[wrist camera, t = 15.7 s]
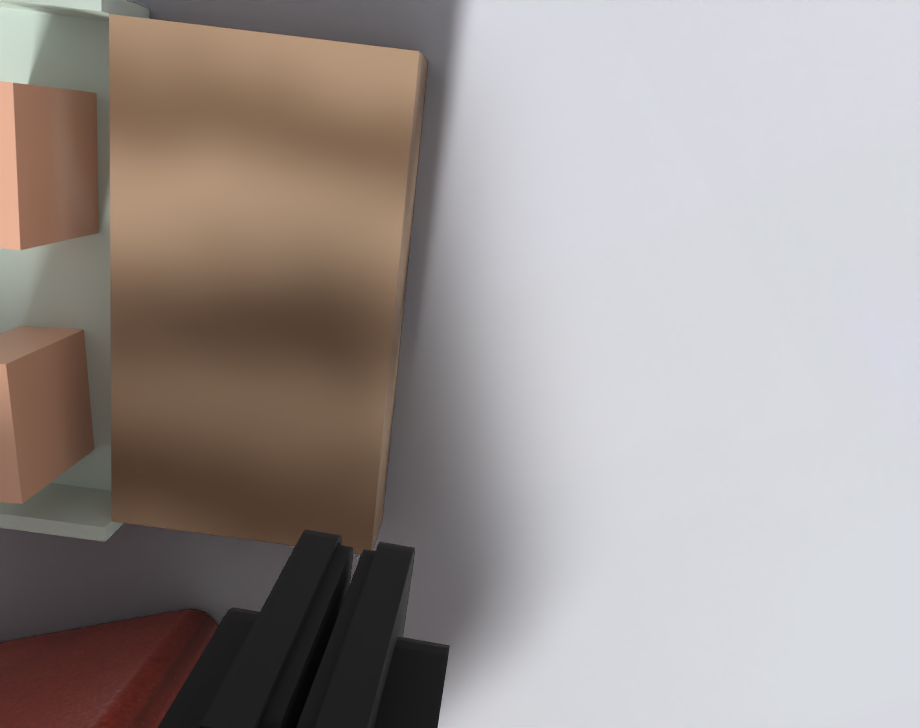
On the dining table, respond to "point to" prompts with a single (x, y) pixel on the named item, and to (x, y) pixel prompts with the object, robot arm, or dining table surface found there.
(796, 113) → the dining table surface
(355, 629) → the robot arm
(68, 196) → the tile
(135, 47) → the board
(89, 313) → the tray
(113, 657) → the plant pot
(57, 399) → the tile
